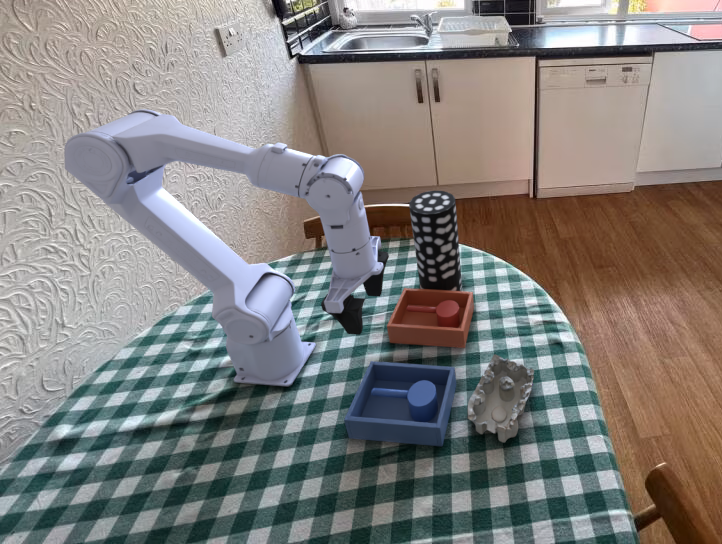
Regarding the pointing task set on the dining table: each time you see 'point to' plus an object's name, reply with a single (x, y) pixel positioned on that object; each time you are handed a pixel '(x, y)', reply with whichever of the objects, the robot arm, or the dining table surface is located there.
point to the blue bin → (400, 404)
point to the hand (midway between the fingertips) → (365, 312)
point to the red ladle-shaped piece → (442, 313)
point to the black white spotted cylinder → (436, 240)
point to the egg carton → (500, 397)
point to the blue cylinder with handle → (415, 399)
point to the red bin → (429, 319)
